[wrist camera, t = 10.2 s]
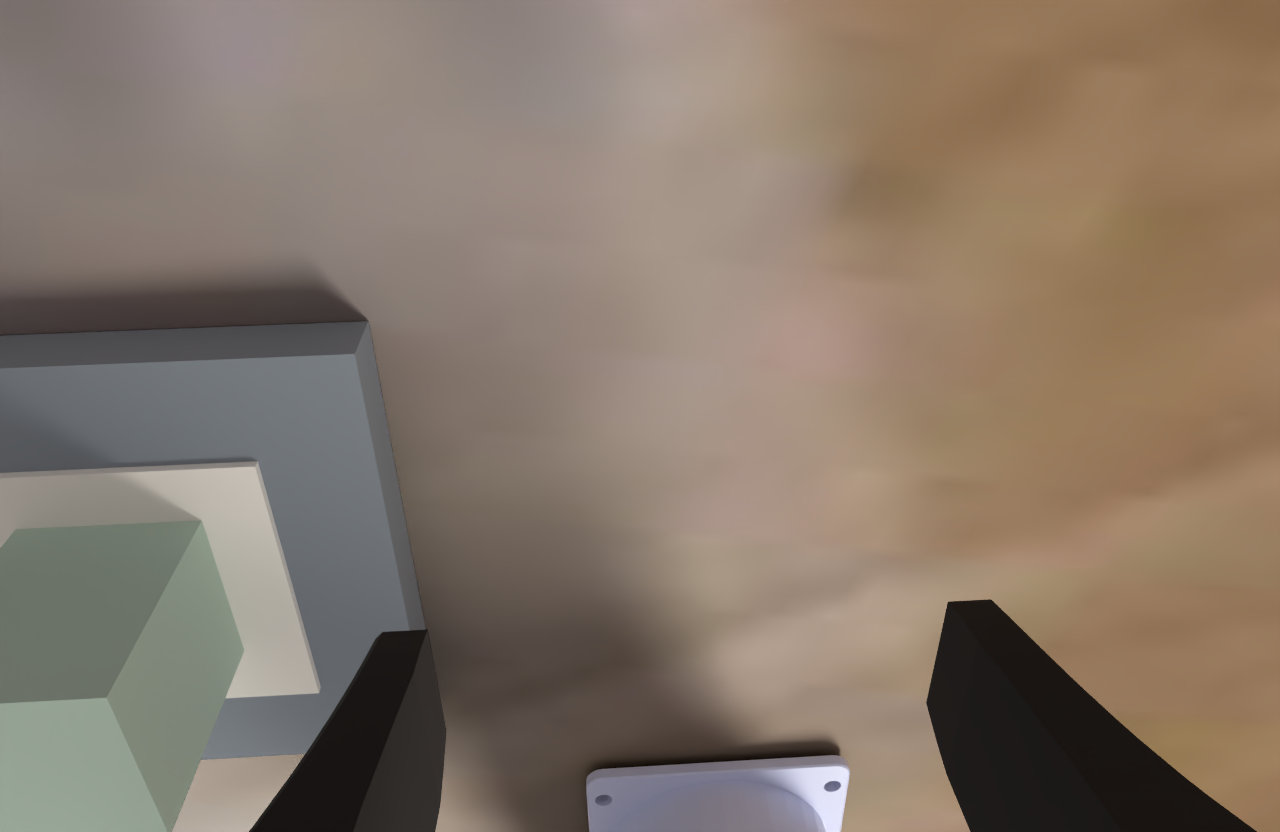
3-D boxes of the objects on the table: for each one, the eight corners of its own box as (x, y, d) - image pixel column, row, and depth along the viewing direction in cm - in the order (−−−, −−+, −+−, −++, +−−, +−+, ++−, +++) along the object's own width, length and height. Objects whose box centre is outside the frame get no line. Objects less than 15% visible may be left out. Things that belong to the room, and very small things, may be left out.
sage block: (244, 650, 23) (169, 836, 19) (75, 659, 23) (-38, 849, 18) (201, 520, 21) (106, 697, 17) (15, 528, 21) (-130, 710, 16)
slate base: (439, 702, 27) (431, 752, 25) (4, 727, 26) (-29, 779, 25) (368, 321, 20) (352, 358, 19) (-208, 343, 20) (-269, 384, 18)
